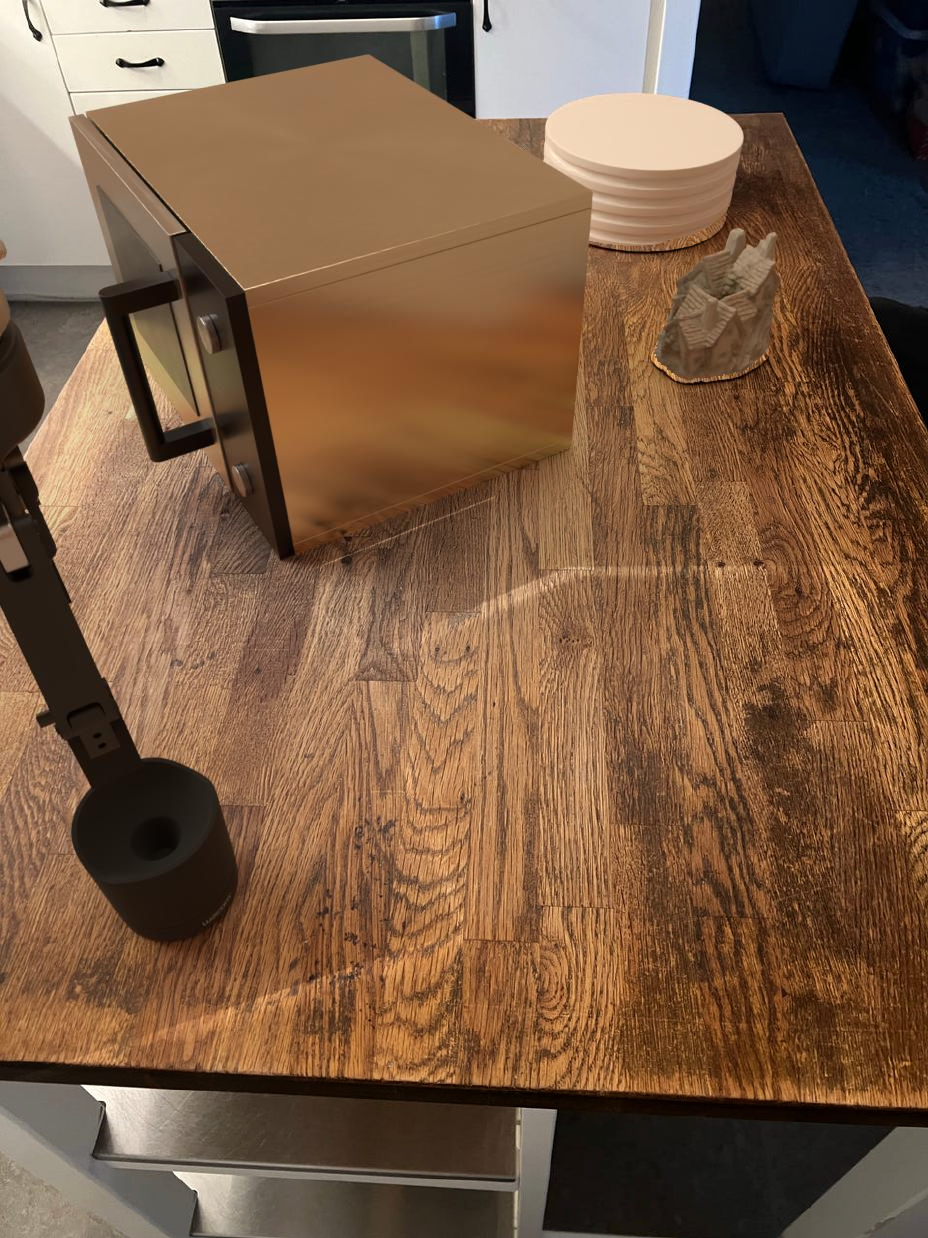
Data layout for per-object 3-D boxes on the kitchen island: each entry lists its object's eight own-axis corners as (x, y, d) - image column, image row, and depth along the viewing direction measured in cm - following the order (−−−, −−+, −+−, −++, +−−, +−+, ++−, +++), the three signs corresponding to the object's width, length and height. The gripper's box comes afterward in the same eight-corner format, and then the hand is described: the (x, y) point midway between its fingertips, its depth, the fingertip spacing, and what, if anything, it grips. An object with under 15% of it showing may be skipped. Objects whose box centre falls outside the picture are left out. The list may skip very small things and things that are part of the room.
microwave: (273, 564, 93) (214, 298, 73) (133, 355, 119) (61, 115, 99) (571, 447, 106) (593, 191, 85) (386, 281, 131) (368, 53, 111)
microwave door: (171, 513, 99) (91, 254, 78) (85, 368, 117) (3, 129, 97) (245, 486, 101) (186, 230, 81) (150, 349, 120) (83, 113, 100)
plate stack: (742, 253, 136) (761, 170, 127) (544, 251, 136) (550, 168, 127) (710, 170, 155) (725, 93, 146) (536, 168, 155) (541, 91, 146)
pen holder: (120, 968, 66) (75, 900, 59) (108, 852, 72) (66, 778, 65) (255, 925, 68) (228, 854, 61) (233, 816, 74) (206, 740, 67)
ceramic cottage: (723, 300, 126) (741, 188, 115) (792, 369, 116) (820, 253, 105) (615, 329, 123) (623, 218, 112) (677, 402, 113) (692, 288, 102)
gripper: (105, 486, 32) (226, 822, 47) (-47, 201, 46) (84, 530, 62) (-141, 568, 29) (73, 895, 45) (-220, 239, 44) (-38, 572, 59)
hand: (79, 684), depth 53 cm, fingers open, 13 cm apart
